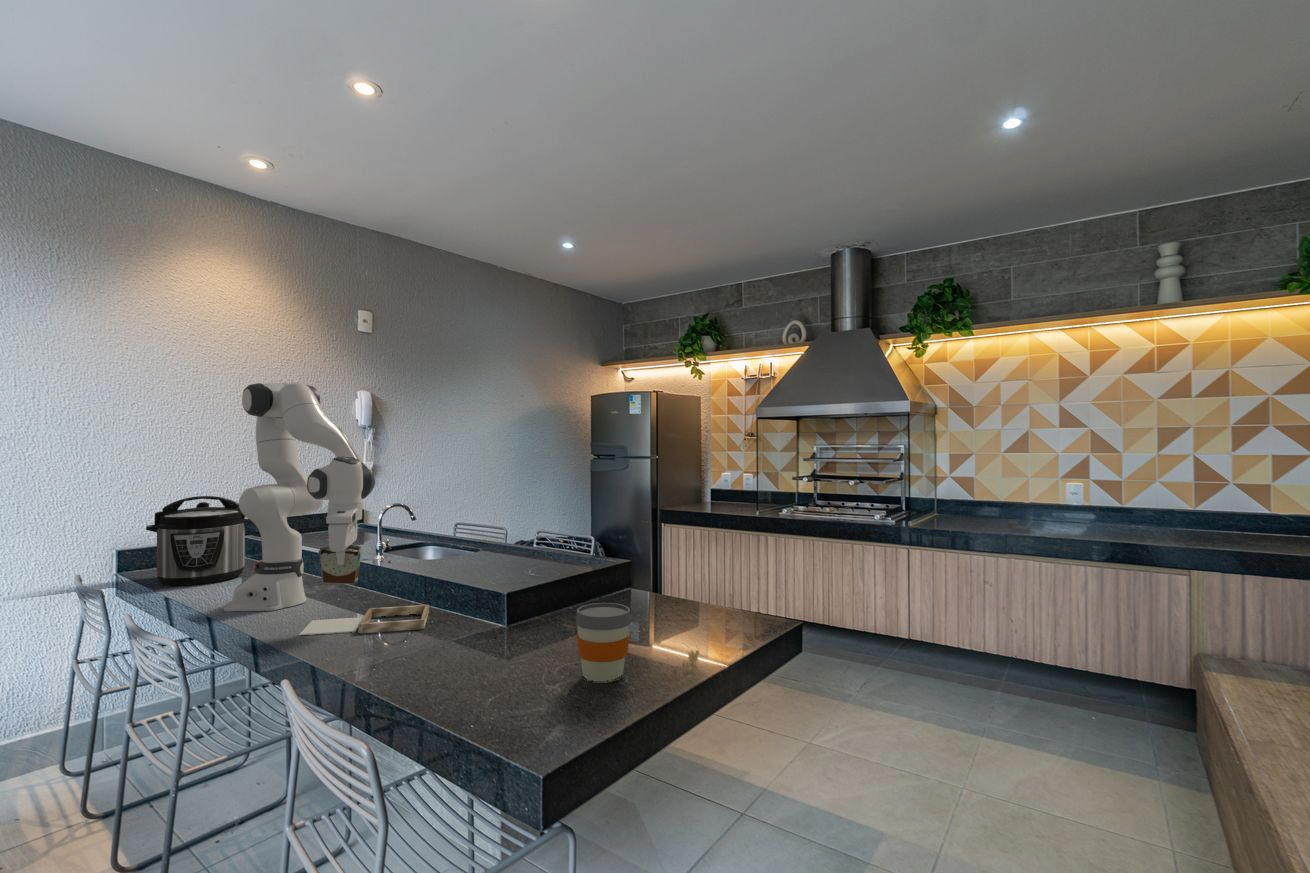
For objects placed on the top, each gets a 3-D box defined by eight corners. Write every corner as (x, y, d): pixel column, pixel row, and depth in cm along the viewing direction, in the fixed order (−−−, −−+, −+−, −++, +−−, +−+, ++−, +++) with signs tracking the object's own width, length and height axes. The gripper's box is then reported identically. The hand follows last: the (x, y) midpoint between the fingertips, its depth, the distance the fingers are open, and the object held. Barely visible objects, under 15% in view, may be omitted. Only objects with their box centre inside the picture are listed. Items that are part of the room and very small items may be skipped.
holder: (358, 633, 167) (358, 624, 167) (369, 616, 183) (369, 608, 183) (424, 628, 171) (424, 620, 171) (429, 612, 188) (429, 604, 188)
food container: (370, 579, 177) (371, 545, 177) (360, 584, 171) (360, 549, 171) (329, 578, 178) (330, 544, 178) (317, 583, 172) (317, 548, 171)
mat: (298, 636, 164) (298, 634, 164) (312, 621, 177) (312, 620, 177) (355, 632, 168) (355, 630, 168) (364, 618, 181) (364, 616, 181)
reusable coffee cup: (584, 690, 129) (585, 620, 129) (568, 670, 141) (569, 605, 141) (638, 681, 134) (639, 613, 134) (619, 663, 146) (619, 600, 146)
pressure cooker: (129, 588, 217) (130, 499, 217) (188, 571, 245) (189, 493, 245) (214, 588, 217) (216, 499, 218) (263, 571, 246) (264, 493, 246)
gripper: (340, 509, 183) (339, 555, 183) (324, 518, 163) (323, 569, 163) (363, 509, 185) (362, 554, 185) (350, 518, 165) (348, 568, 165)
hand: (343, 561), depth 174 cm, fingers closed on food container, 6 cm apart
